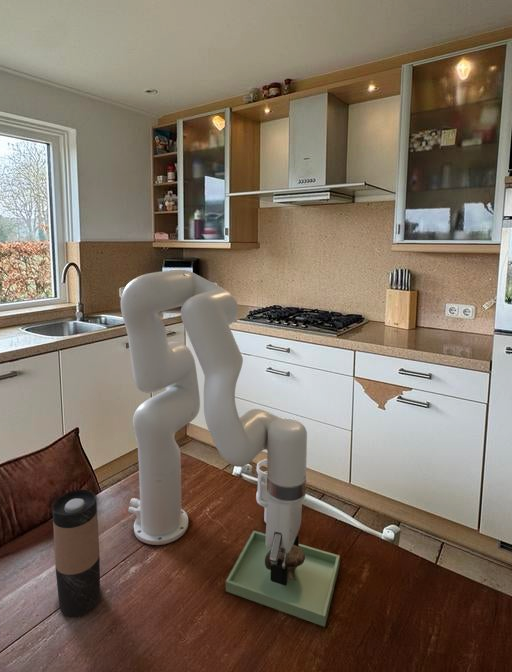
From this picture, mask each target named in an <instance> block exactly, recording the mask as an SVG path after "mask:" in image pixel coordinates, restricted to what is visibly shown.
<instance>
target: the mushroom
mask: <svg viewBox="0 0 512 672" xmlns="http://www.w3.org/2000/svg"><path fill="white" fill-rule="evenodd" d="M280 547H282V548H284V547H283V545H281V546H280ZM271 550H272V549H271ZM271 550H270V551H269V552H268V553H267V555H266V558H265V566H266V568H267V569H268V570H271V564H270V554H271ZM279 559H281V560H282V559H283V552H279ZM304 560H305V554H304V552H303V551H302V549H300V548H299V547H297V546H295V545H293V546H292V548H291V550H290V552H289V553H287V560H286V565H288V575H287V579H290V580H294V581H296V578H295V570H296V568H297V567H298V566H300V565H302V564H303V563H304Z"/></svg>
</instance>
